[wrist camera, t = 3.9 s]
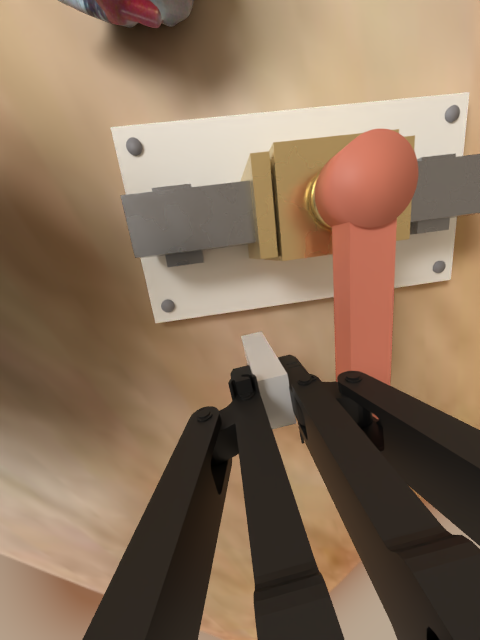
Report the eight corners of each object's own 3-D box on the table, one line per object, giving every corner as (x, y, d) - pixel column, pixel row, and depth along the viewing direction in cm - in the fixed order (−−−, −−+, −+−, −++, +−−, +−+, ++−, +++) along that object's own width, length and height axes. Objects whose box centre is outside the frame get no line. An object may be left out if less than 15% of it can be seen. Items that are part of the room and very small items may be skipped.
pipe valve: (158, 273, 23) (127, 283, 15) (141, 192, 21) (95, 153, 13) (435, 235, 25) (543, 226, 17) (441, 158, 23) (567, 104, 15)
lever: (312, 153, 14) (332, 133, 11) (387, 145, 14) (421, 124, 12) (324, 415, 18) (339, 438, 16) (380, 405, 19) (403, 426, 16)
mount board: (158, 320, 24) (155, 323, 23) (116, 134, 20) (109, 125, 19) (440, 278, 26) (452, 279, 25) (456, 100, 22) (471, 90, 21)
